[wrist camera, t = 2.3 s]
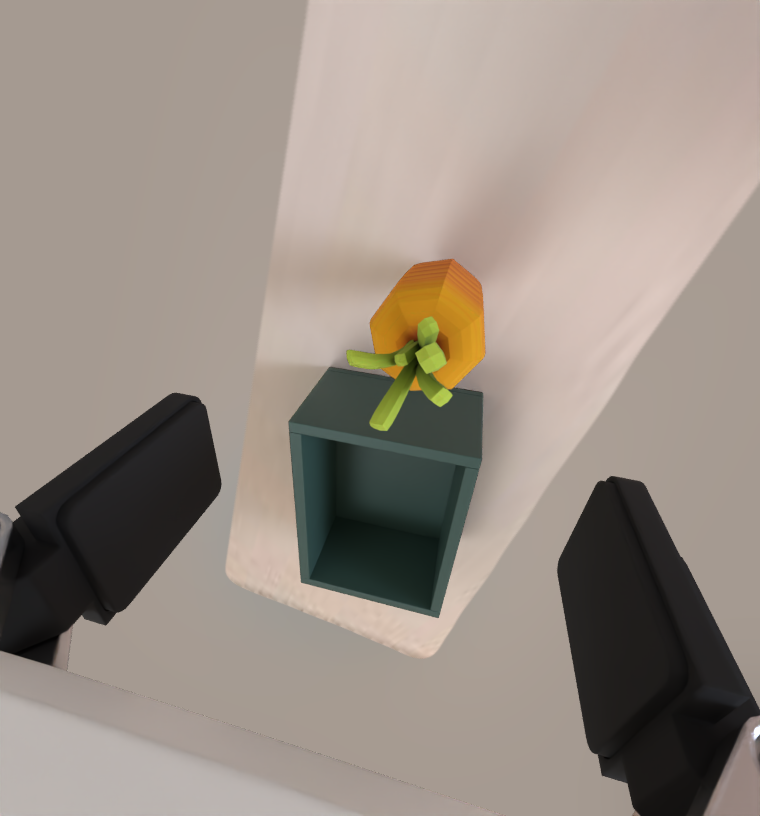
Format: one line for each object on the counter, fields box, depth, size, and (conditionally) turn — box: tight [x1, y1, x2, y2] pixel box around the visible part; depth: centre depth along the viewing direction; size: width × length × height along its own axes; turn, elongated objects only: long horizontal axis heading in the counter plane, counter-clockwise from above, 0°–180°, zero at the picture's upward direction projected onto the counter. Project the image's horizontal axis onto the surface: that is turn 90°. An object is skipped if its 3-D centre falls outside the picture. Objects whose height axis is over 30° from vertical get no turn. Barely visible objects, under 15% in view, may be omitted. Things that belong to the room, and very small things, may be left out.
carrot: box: [346, 259, 485, 431], centre depth 18 cm, size 5×5×15 cm
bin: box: [289, 367, 483, 618], centre depth 30 cm, size 17×12×8 cm
